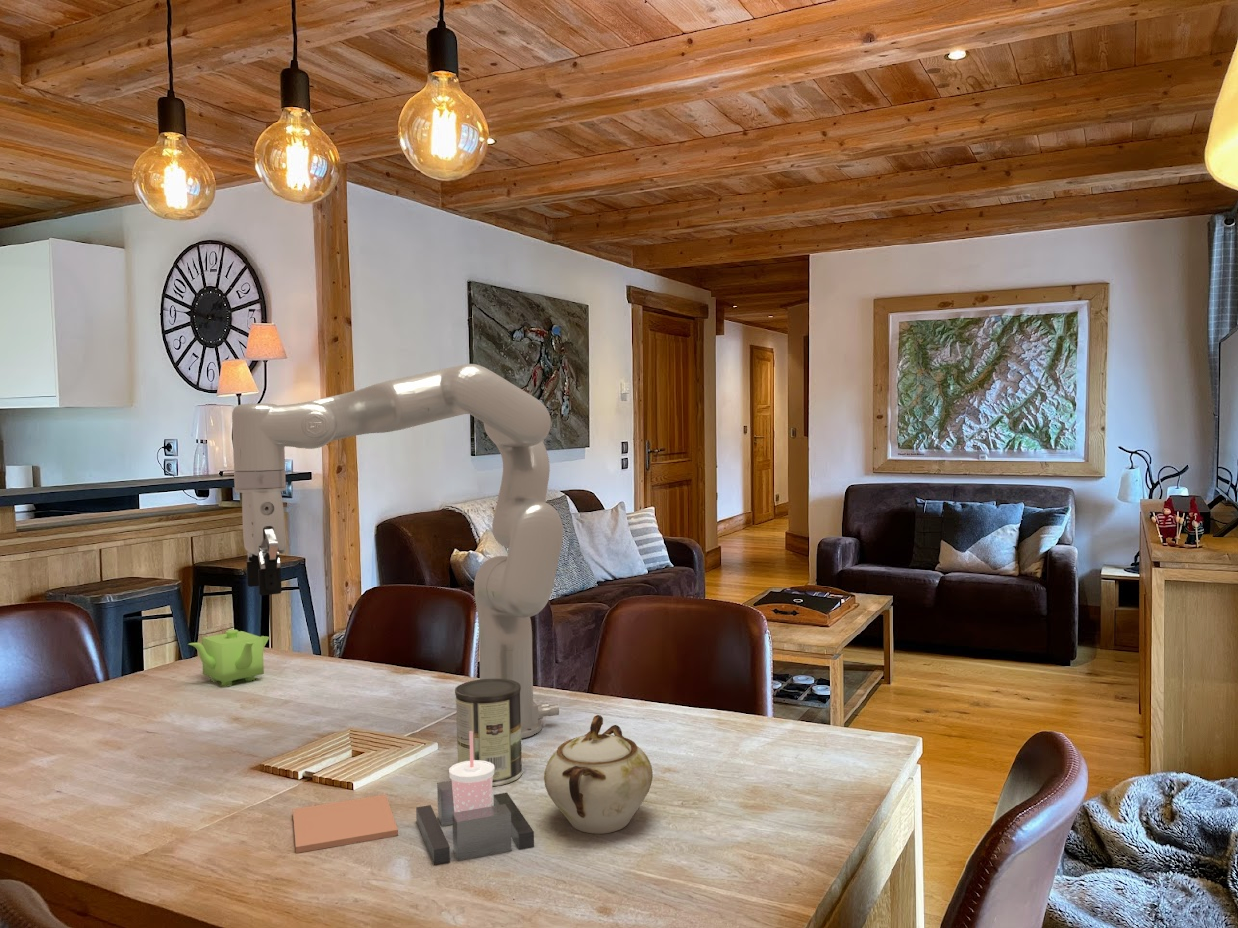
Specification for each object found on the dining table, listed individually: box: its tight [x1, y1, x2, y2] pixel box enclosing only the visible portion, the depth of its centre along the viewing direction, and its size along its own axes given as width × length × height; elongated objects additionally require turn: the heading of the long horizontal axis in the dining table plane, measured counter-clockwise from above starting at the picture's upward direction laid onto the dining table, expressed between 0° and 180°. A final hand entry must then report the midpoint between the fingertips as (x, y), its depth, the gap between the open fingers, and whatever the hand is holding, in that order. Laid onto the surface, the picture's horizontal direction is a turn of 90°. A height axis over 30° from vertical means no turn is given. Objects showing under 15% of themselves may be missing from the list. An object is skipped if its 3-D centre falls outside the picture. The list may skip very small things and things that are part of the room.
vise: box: [415, 780, 535, 866], centre depth 123 cm, size 13×14×5 cm
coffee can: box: [454, 678, 524, 787], centre depth 144 cm, size 10×10×14 cm
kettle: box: [187, 629, 270, 687], centre depth 203 cm, size 15×14×11 cm
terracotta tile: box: [292, 794, 399, 854], centre depth 126 cm, size 13×13×1 cm
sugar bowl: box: [543, 714, 654, 835], centre depth 126 cm, size 20×15×15 cm
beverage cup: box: [448, 731, 495, 813], centre depth 123 cm, size 6×6×14 cm
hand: (264, 589), depth 144 cm, fingers open, 9 cm apart
